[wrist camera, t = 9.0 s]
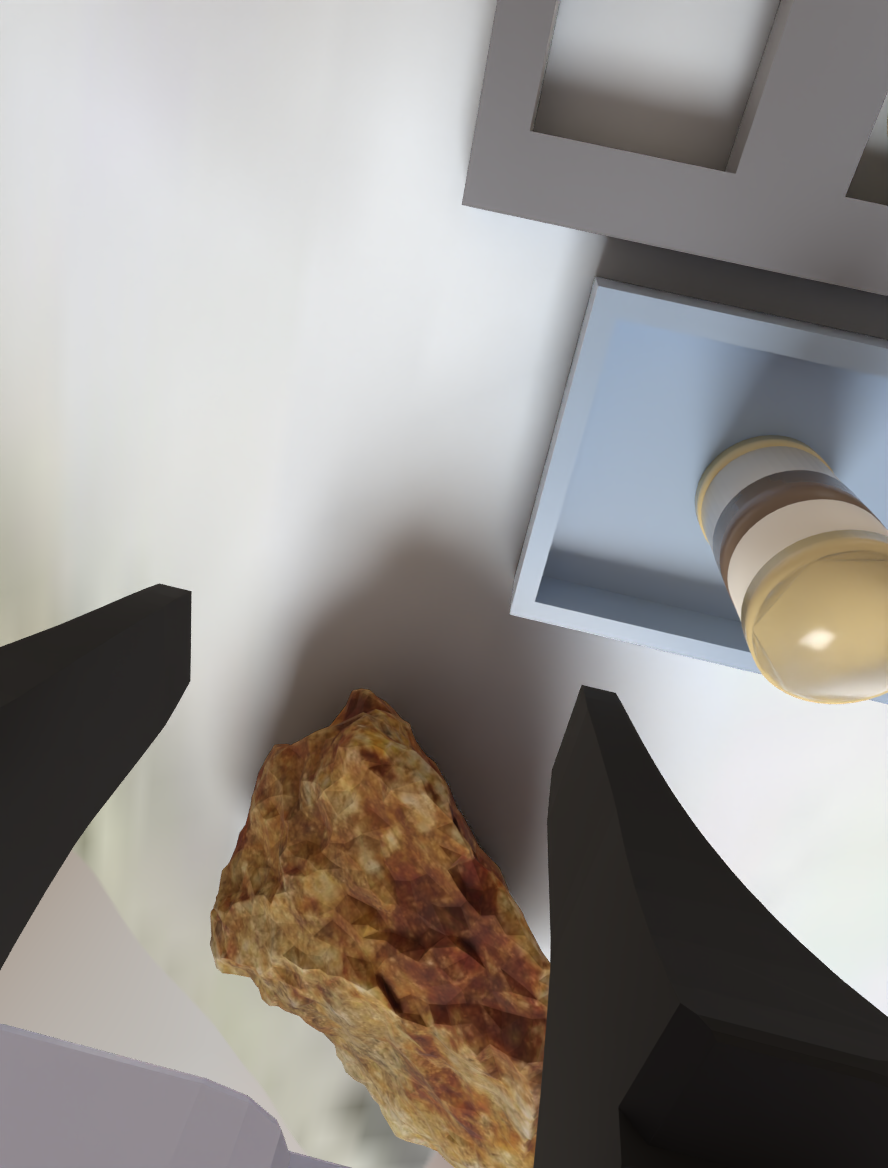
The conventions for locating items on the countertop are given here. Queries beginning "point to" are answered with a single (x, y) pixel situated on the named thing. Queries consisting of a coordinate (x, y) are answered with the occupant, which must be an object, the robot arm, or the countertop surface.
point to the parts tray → (683, 459)
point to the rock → (391, 936)
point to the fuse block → (697, 194)
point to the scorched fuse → (800, 568)
